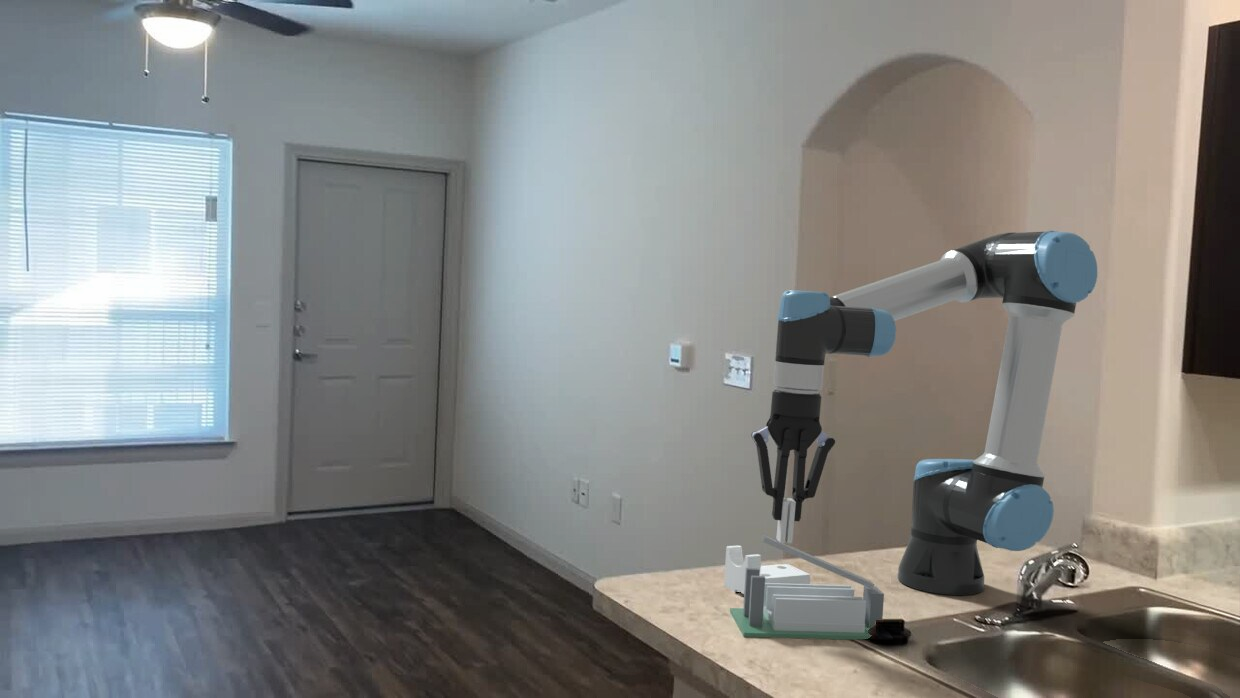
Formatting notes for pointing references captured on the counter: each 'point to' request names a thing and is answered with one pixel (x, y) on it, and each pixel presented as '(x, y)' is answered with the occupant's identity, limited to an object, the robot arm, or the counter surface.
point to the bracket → (772, 573)
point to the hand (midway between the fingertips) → (784, 540)
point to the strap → (817, 561)
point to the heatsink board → (806, 610)
